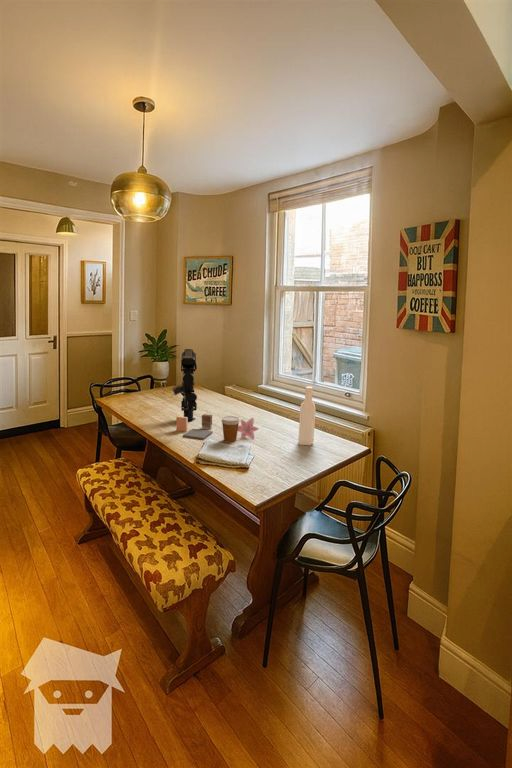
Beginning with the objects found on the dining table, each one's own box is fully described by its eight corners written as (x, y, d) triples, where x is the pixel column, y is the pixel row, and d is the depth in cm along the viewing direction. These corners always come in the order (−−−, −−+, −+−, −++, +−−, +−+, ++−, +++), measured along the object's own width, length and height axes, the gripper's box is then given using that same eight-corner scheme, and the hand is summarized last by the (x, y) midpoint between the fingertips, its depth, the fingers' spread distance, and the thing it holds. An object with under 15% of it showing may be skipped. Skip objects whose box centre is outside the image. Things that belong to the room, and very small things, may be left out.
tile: (177, 429, 235) (177, 416, 233) (187, 431, 233) (187, 417, 231) (176, 430, 233) (176, 416, 232) (186, 432, 232) (186, 418, 230)
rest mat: (192, 430, 235) (192, 428, 234) (212, 433, 231) (212, 431, 231) (183, 436, 223) (183, 435, 223) (204, 439, 220) (204, 437, 220)
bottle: (303, 439, 226) (307, 384, 220) (316, 443, 221) (320, 387, 215) (295, 443, 220) (298, 387, 214) (307, 447, 215) (311, 389, 209)
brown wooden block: (203, 427, 241) (203, 414, 239) (211, 428, 239) (212, 414, 238) (201, 429, 238) (201, 415, 236) (209, 430, 237) (210, 416, 235)
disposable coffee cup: (217, 439, 221) (217, 417, 219) (232, 436, 227) (233, 415, 225) (227, 444, 214) (228, 422, 211) (242, 441, 219) (243, 419, 217)
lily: (230, 438, 227) (233, 426, 221) (240, 425, 236) (243, 413, 229) (250, 448, 224) (253, 436, 218) (259, 434, 233) (262, 422, 227)
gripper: (171, 377, 234) (171, 404, 237) (175, 384, 217) (175, 413, 220) (191, 376, 237) (190, 403, 241) (197, 384, 220) (196, 412, 224)
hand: (188, 408), depth 231 cm, fingers open, 9 cm apart
